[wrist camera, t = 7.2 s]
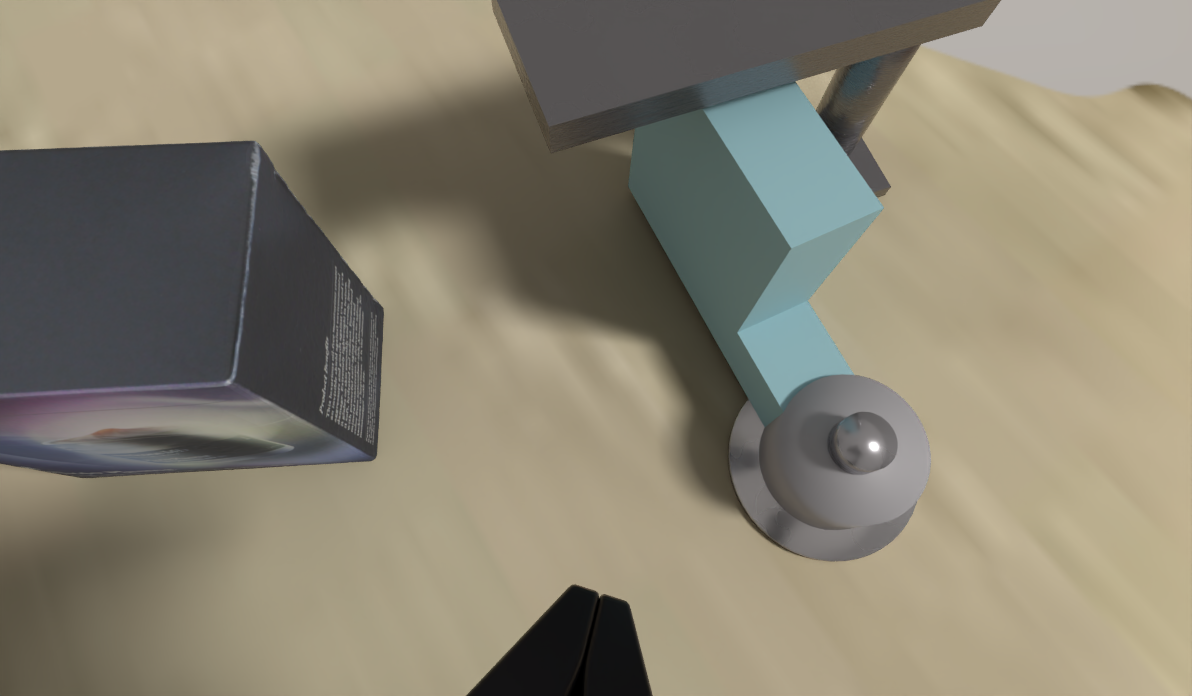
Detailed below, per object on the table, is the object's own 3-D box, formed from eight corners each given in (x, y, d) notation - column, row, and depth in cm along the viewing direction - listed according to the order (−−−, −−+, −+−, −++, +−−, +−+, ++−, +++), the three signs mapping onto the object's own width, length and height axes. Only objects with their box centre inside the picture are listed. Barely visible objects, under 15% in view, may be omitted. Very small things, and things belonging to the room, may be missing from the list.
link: (921, 492, 22) (1102, 449, 15) (804, 554, 22) (929, 544, 14) (709, 153, 27) (761, -19, 19) (606, 195, 26) (616, 33, 18)
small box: (73, 491, 22) (-331, 427, 13) (106, 318, 25) (-217, 144, 15) (380, 471, 23) (226, 392, 13) (387, 302, 25) (259, 123, 15)
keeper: (562, 305, 25) (549, 126, 15) (523, 203, 26) (488, -21, 16) (886, 198, 27) (1066, -24, 17) (833, 109, 28) (971, -144, 18)
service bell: (778, 591, 22) (817, 595, 18) (698, 406, 24) (719, 375, 20) (953, 519, 23) (1025, 509, 19) (861, 347, 25) (910, 307, 21)
